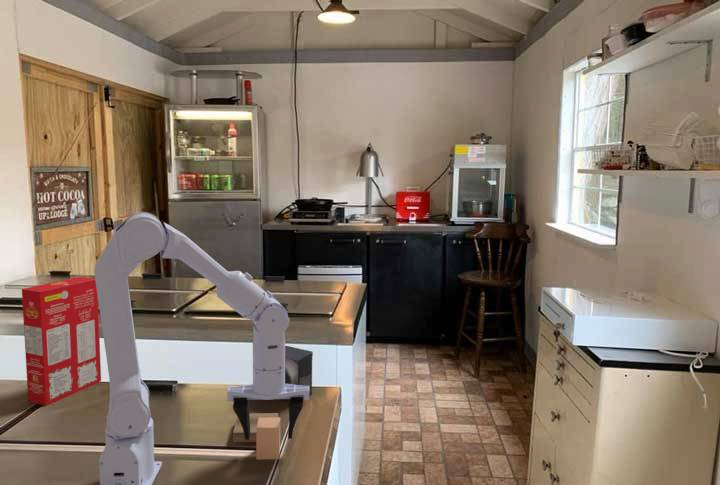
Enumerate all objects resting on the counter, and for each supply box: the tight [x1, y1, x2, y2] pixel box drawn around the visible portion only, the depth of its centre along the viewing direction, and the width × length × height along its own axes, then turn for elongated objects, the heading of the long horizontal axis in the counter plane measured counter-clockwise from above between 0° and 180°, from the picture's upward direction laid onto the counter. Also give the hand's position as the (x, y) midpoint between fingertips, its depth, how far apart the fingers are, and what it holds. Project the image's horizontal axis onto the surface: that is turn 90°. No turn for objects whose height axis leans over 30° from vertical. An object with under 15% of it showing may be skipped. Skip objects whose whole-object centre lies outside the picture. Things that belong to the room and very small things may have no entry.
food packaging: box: [21, 276, 102, 407], centre depth 120 cm, size 15×5×25 cm, turn 160°
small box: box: [283, 345, 314, 402], centre depth 123 cm, size 11×6×10 cm, turn 62°
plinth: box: [232, 412, 279, 444], centre depth 105 cm, size 8×8×2 cm
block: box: [255, 416, 281, 461], centre depth 97 cm, size 4×4×6 cm
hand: (269, 436), depth 97 cm, fingers open, 7 cm apart
